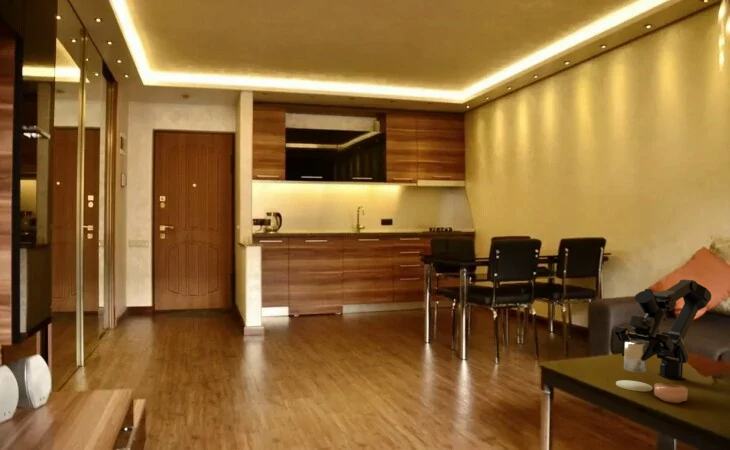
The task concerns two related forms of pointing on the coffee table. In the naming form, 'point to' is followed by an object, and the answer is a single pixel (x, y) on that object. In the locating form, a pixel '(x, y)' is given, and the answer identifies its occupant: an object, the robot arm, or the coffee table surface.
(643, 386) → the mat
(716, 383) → the coffee table surface
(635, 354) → the frosted glass jar
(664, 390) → the bowl
